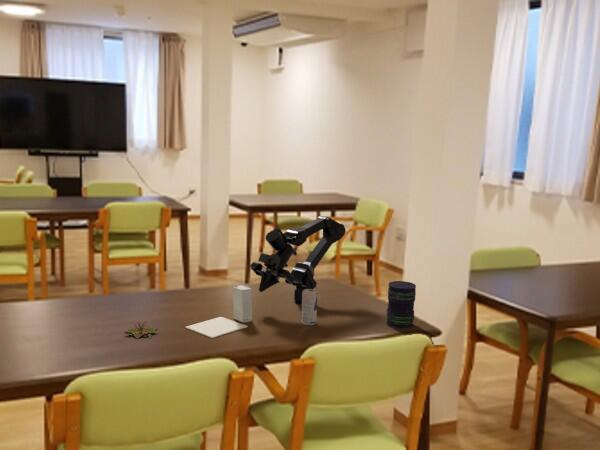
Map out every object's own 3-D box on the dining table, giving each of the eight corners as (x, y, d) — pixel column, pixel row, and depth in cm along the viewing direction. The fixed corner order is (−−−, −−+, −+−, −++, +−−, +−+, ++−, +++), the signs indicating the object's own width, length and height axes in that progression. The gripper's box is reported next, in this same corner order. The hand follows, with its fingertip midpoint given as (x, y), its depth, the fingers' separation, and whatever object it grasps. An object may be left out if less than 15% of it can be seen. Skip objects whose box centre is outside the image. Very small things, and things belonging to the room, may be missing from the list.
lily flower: (128, 327, 206) (128, 314, 206) (163, 328, 206) (163, 316, 205) (117, 340, 195) (117, 326, 194) (154, 341, 194) (154, 328, 194)
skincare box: (252, 321, 216) (253, 288, 214) (241, 323, 213) (242, 290, 211) (242, 316, 221) (243, 284, 219) (232, 318, 218) (232, 286, 216)
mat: (220, 317, 218) (220, 316, 218) (247, 327, 209) (247, 326, 209) (185, 327, 207) (185, 326, 207) (212, 338, 198) (212, 337, 197)
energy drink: (318, 321, 217) (319, 289, 215) (313, 326, 212) (314, 293, 210) (304, 319, 219) (305, 288, 217) (299, 324, 214) (300, 291, 212)
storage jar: (396, 330, 211) (399, 289, 209) (380, 322, 220) (382, 282, 217) (419, 327, 216) (422, 286, 213) (402, 318, 224) (405, 280, 222)
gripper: (253, 241, 229) (231, 274, 223) (289, 249, 217) (267, 284, 211) (267, 258, 236) (246, 290, 230) (303, 266, 224) (282, 301, 218)
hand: (260, 291), depth 222 cm, fingers closed
